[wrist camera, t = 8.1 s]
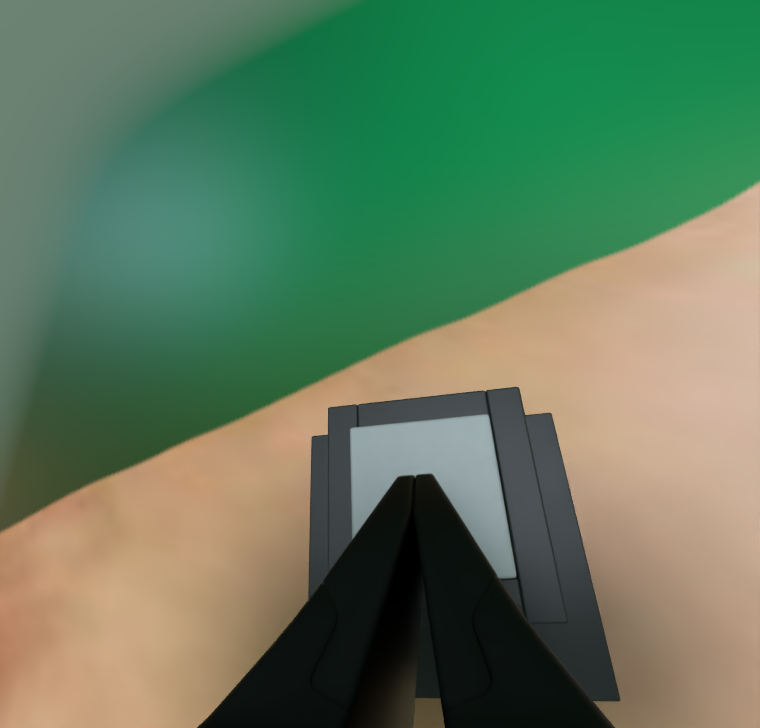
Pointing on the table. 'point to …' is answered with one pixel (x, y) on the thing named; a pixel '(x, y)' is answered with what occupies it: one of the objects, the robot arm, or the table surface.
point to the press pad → (437, 475)
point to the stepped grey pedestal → (524, 516)
